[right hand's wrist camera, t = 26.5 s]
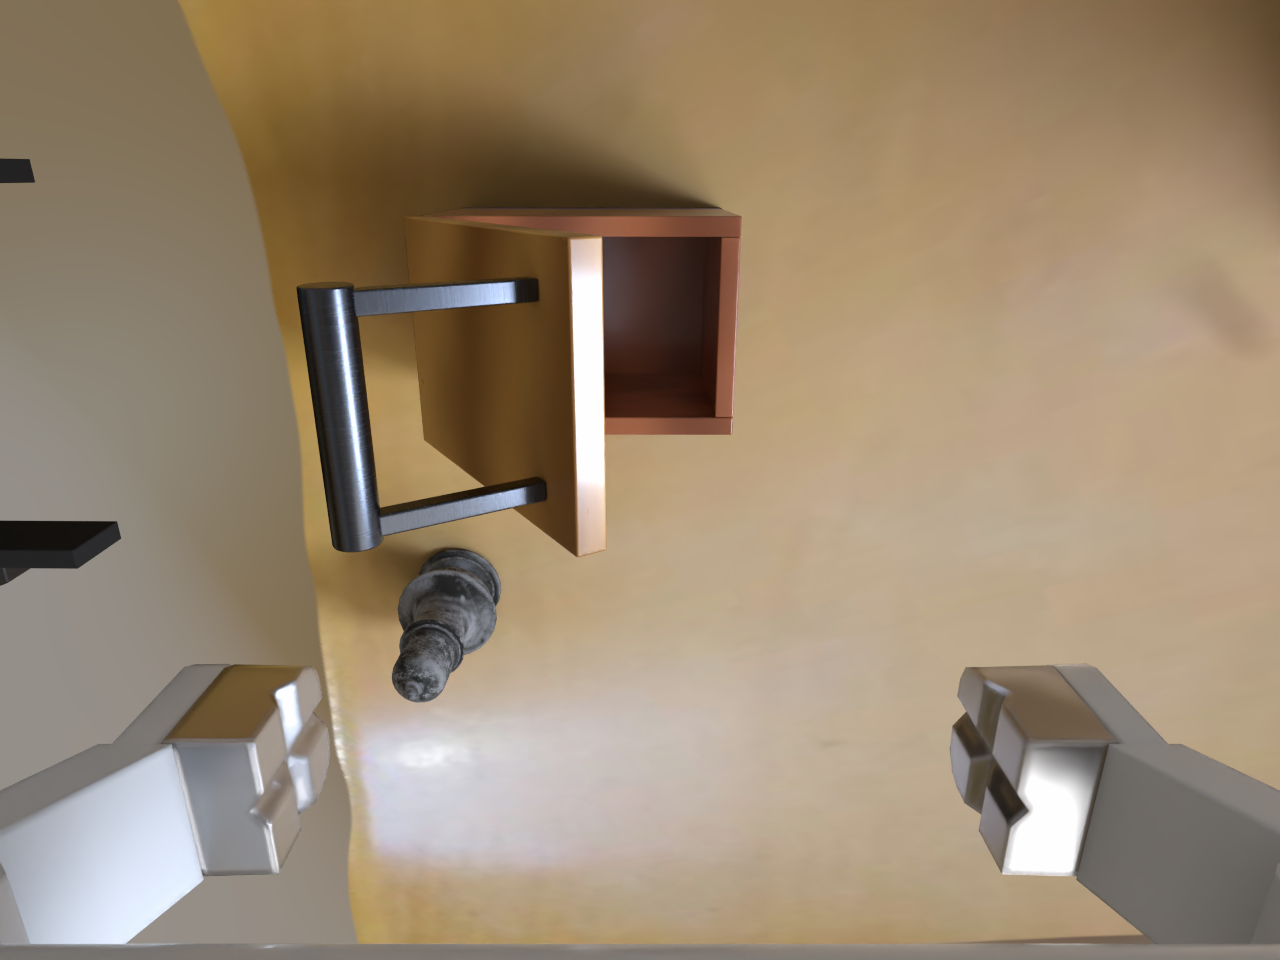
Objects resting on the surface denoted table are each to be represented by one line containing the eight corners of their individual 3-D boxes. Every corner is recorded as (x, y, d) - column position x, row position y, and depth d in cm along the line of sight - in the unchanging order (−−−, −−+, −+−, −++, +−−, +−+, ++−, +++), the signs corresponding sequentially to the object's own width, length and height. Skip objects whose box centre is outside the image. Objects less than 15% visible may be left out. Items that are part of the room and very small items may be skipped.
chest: (720, 208, 45) (742, 215, 35) (714, 385, 48) (732, 435, 39) (465, 207, 45) (419, 215, 35) (478, 384, 48) (438, 435, 39)
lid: (603, 235, 23) (310, 246, 19) (607, 550, 27) (358, 616, 23) (428, 215, 35) (223, 220, 31) (447, 436, 38) (264, 466, 34)
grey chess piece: (440, 639, 54) (386, 761, 42) (396, 564, 52) (328, 671, 41) (520, 608, 53) (488, 724, 42) (479, 531, 51) (434, 631, 40)
